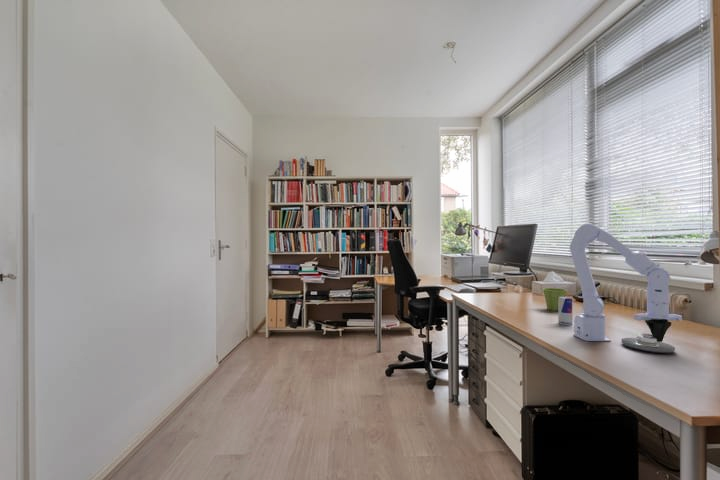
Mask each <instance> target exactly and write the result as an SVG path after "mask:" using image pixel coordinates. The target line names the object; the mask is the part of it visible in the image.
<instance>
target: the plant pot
mask: <svg viewBox="0 0 720 480" xmlns="http://www.w3.org/2000/svg"><path fill="white" fill-rule="evenodd" d="M542 290H543V294H544V299H545V304H546V309H547V310H549V311H552V312H555V311H558V299H559V297H566V294H567V292H568V289H564V288H555V287H543V288H542Z"/></svg>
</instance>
